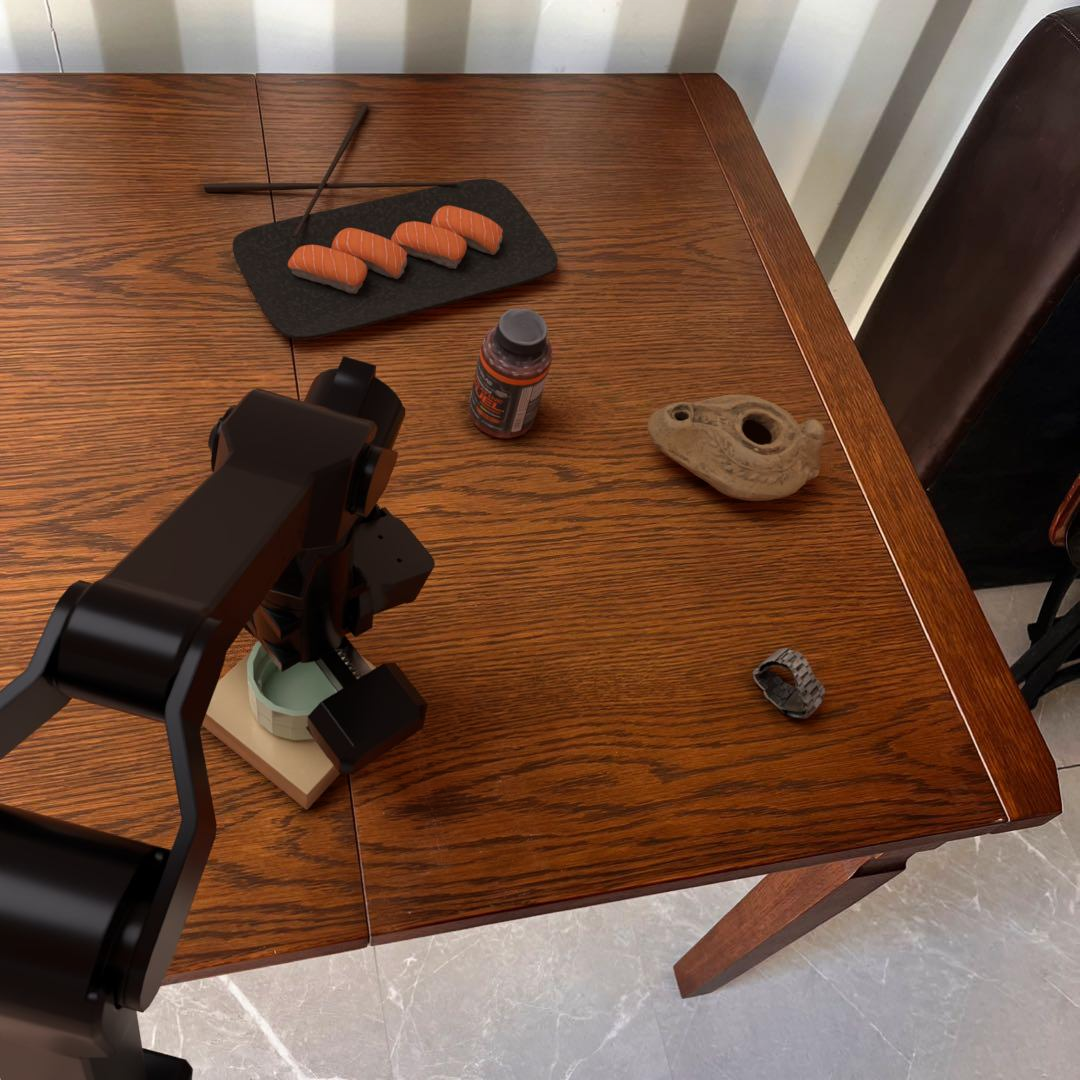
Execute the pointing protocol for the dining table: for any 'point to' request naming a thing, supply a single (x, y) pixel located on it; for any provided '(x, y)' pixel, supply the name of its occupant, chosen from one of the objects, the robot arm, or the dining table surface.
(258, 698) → the bowl
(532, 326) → the supplement bottle
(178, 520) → the robot arm
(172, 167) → the dining table surface
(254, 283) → the sushi plate
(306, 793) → the plate
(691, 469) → the oil lamp
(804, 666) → the wristwatch
